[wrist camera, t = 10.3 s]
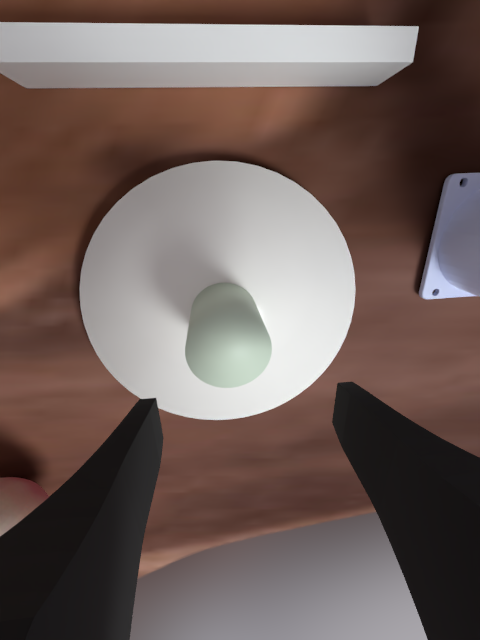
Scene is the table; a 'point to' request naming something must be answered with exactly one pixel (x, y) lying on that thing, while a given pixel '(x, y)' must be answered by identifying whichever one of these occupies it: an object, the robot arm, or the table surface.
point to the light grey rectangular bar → (201, 54)
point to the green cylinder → (226, 337)
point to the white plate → (211, 268)
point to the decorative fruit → (18, 500)
